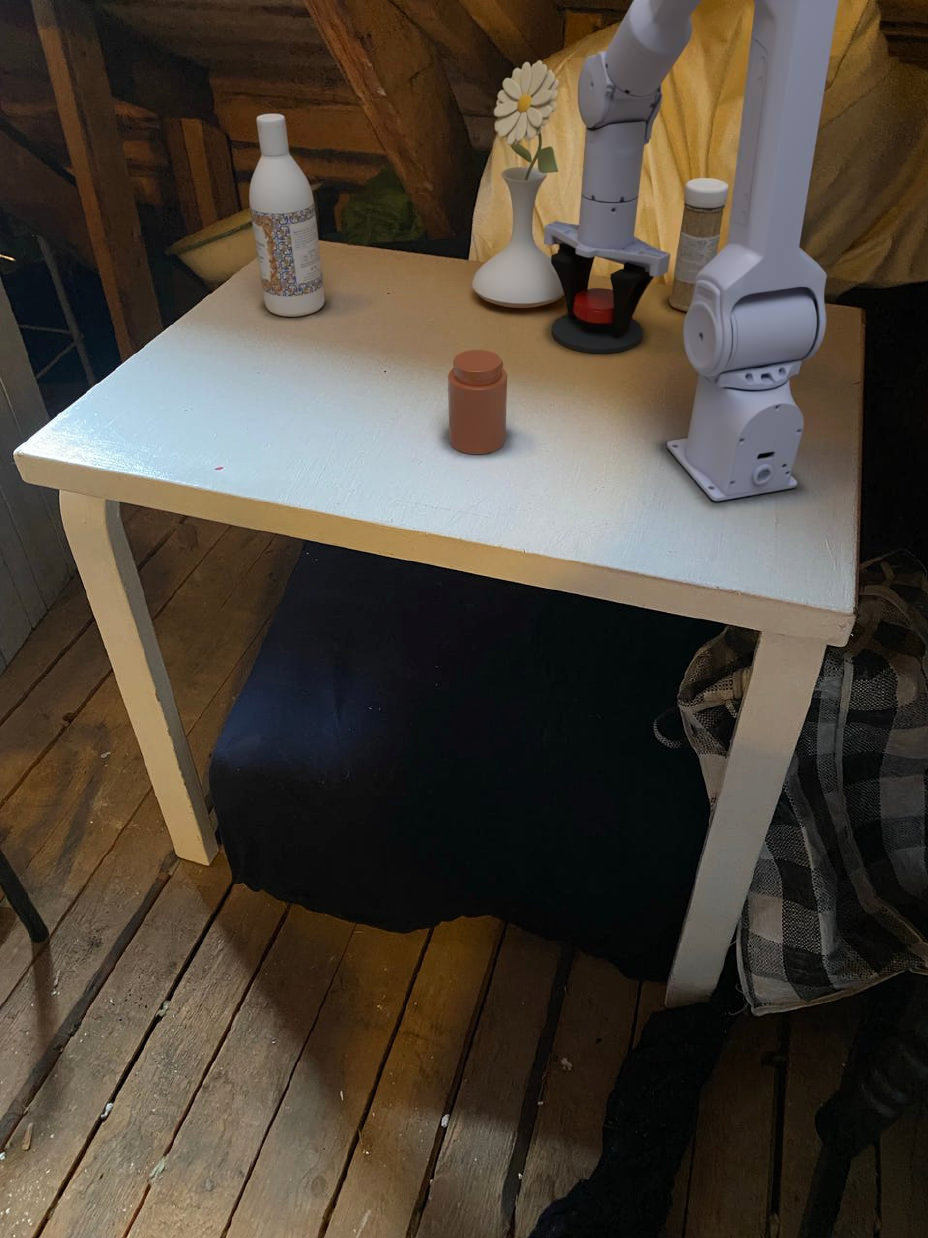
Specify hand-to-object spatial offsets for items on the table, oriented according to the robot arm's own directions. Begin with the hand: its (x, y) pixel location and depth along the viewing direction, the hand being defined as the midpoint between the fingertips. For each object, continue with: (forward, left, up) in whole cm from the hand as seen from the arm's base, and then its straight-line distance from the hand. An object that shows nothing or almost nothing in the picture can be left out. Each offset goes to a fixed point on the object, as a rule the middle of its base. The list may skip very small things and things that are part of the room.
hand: (597, 324), depth 101 cm
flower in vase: (+11, +5, -1) cm, 12 cm away
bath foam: (+17, +31, -1) cm, 35 cm away
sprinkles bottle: (+4, -13, -1) cm, 14 cm away
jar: (-18, +19, -1) cm, 26 cm away
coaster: (0, 0, -1) cm, 1 cm away
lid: (0, 0, +3) cm, 3 cm away
